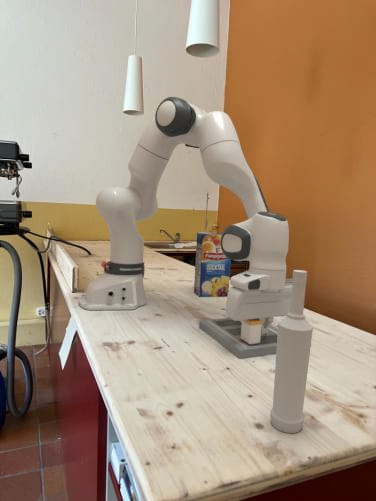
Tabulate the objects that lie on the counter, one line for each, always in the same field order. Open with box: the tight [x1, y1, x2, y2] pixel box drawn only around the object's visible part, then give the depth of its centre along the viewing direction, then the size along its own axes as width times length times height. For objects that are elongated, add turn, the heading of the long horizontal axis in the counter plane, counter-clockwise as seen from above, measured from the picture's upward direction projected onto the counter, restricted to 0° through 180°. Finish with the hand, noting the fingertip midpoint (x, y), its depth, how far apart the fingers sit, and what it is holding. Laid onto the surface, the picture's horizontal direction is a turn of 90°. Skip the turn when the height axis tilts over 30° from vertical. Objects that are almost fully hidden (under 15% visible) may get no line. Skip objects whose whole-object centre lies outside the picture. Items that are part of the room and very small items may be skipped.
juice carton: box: [193, 232, 232, 298], centre depth 140 cm, size 12×8×24 cm, turn 105°
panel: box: [198, 317, 278, 360], centre depth 95 cm, size 18×22×7 cm
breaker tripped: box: [241, 319, 262, 344], centre depth 87 cm, size 3×4×5 cm
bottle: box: [270, 269, 314, 434], centre depth 56 cm, size 5×5×25 cm
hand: (262, 334), depth 89 cm, fingers closed
